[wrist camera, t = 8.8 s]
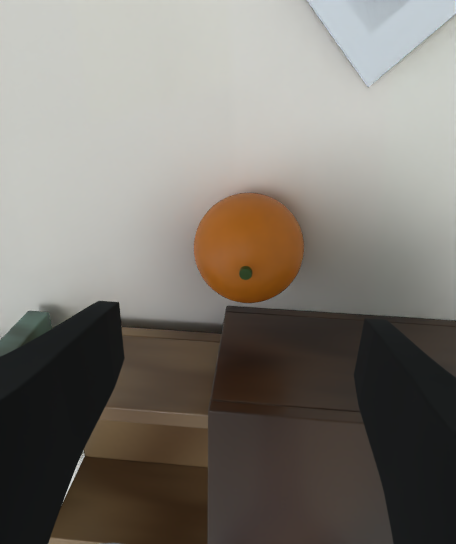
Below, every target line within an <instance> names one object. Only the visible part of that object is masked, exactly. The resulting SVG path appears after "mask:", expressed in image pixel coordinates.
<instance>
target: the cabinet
mask: <svg viewBox="0 0 456 544" xmlns="http://www.w3.org/2000/svg"><path fill="white" fill-rule="evenodd" d="M365 318H369V319H385V320H388V321H389V322H390V323H391V324H393V325H394V326H395V327H396V328H397V329H398V330H399V331H401V332H402V333H403V334H404V335H405V336H406V337H407V338H409V339H410V340H411V341H412V342H413V343H414V344H415V345H416V346H418V347H419V348H420V349H421V350H422V351H423V352H425V353H426V354H427V355H428V356H429V357H430V358H432V359H433V360H434V361H435V362H437V363H438V364H439V365H440V366H442V367H443V368H444V369H445V370H447V371H448V372H449V373H451V374H452V375H453V376H455V377H456V321H449V320H434V319H418V318H403V317H387V316H371V315H356V314H340V313H325V312H309V311H294V310H278V309H262V308H247V307H231V306H227V307H226V312H225V318H224V323H223V329H222V334H221V340H220V346H219V351H218V357H217V363H216V368H215V374H214V380H213V385H212V391H211V397H210V402H209V408H208V536H207V544H393V538H392V532H391V527H390V522H389V516H388V511H387V506H386V501H385V496H384V491H383V487H382V483H381V479H380V476H379V472H378V469H377V466H376V462H375V459H374V456H373V453H372V449H371V446H370V443H369V440H368V436H367V433H366V430H365V426H364V423H363V420H362V416H361V413H360V409H359V406H358V400H357V394H356V387H355V380H354V371H355V366H356V361H357V355H358V350H359V345H360V340H361V334H362V329H363V324H364V319H365Z"/></svg>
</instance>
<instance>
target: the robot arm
mask: <svg viewBox="0 0 456 544" xmlns="http://www.w3.org/2000/svg"><path fill="white" fill-rule="evenodd" d="M124 359H125V357H124V347H123V337H122V327H121V317H120V308H119V302H107V301H98V302H96V303H94V304H92V305H91V306H89V307H87V308H85V309H84V310H82V311H81V312H79V313H77V314H76V315H74V316H72V317H71V318H69V319H68V320H66V321H64V322H63V323H61V324H59V325H58V326H56V327H54V328H53V329H51V330H49V331H48V332H46V333H44V334H42V335H40V336H39V337H37V338H35V339H33V340H31V341H30V342H28V343H26V344H24V345H22V346H21V347H19V348H17V349H15V350H13V351H11V352H9V353H7V354H5V355H3V356H0V544H48V543H49V540H50V537H51V534H52V531H53V528H54V525H55V522H56V520H57V517H58V514H59V511H60V508H61V505H62V503H63V500H64V497H65V494H66V492H67V489H68V486H69V484H70V481H71V478H72V476H73V473H74V471H75V468H76V465H77V463H78V461H79V459H80V456H81V454H82V452H83V450H84V448H85V446H86V444H87V442H88V440H89V438H90V436H91V434H92V432H93V430H94V428H95V426H96V424H97V422H98V420H99V418H100V416H101V414H102V412H103V410H104V408H105V406H106V404H107V402H108V400H109V398H110V396H111V394H112V392H113V390H114V388H115V386H116V383H117V380H118V377H119V374H120V371H121V368H122V365H123V362H124ZM354 380H355V387H356V394H357V400H358V406H359V409H360V413H361V416H362V420H363V423H364V426H365V430H366V433H367V436H368V440H369V443H370V446H371V449H372V453H373V456H374V459H375V462H376V466H377V469H378V472H379V476H380V479H381V483H382V487H383V491H384V496H385V501H386V506H387V511H388V516H389V522H390V527H391V532H392V538H393V544H456V377H455V376H453V375H452V374H451V373H449V372H448V371H447V370H445V369H444V368H443V367H442V366H440V365H439V364H438V363H437V362H435V361H434V360H433V359H432V358H430V357H429V356H428V355H427V354H426V353H425V352H423V351H422V350H421V349H420V348H419V347H418V346H416V345H415V344H414V343H413V342H412V341H411V340H410V339H409V338H407V337H406V336H405V335H404V334H403V333H402V332H401V331H399V330H398V329H397V328H396V327H395V326H394V325H393V324H391V323H390V322H389V321H388V320H385V319H369V318H365V319H364V324H363V329H362V334H361V340H360V345H359V350H358V355H357V361H356V366H355V371H354ZM105 544H119V543H105Z"/></svg>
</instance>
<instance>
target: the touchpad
mask: <svg viewBox="0 0 456 544" xmlns="http://www.w3.org/2000/svg"><path fill="white" fill-rule="evenodd" d="M307 1H308V3H309V4H310V5H311V7H312V8H313V10H314V11H315V13H316V14H317V15H318V17H319V18H320V20H321V21H322V23H323V24H324V25H325V27H326V28H327V30H328V31H329V32H330V34H331V35H332V37H333V38H334V40H335V41H336V42H337V44H338V45H339V47H340V48H341V50H342V51H343V52H344V54H345V55H346V57H347V58H348V60H349V61H350V62H351V64H352V65H353V67H354V68H355V69H356V71H357V72H358V74H359V75H360V77H361V78H362V79H363V81H364V82H365V84H366V85H367V87H369V86H370V85H371V84H372V83H374V82H375V81H376V80H377V79H378V78H380V77H381V76H382V75H383V74H384V73H386V72H387V71H388V70H389V69H390V68H392V67H393V66H394V65H395V64H396V63H398V62H399V61H400V60H401V59H402V58H403V57H405V56H406V55H407V54H408V53H409V52H411V51H412V50H413V49H414V48H415V47H417V46H418V45H419V44H420V43H421V42H423V41H424V40H425V39H426V38H427V37H429V36H430V35H431V34H432V33H433V32H434V31H436V30H437V29H438V28H439V27H440V26H442V25H443V24H444V23H445V22H446V21H448V20H449V19H450V18H451V17H452V16H454V15H455V14H456V0H307Z"/></svg>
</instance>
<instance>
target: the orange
mask: <svg viewBox="0 0 456 544" xmlns="http://www.w3.org/2000/svg"><path fill="white" fill-rule="evenodd" d="M303 254H304V241H303V236H302V232H301V229H300V226H299V224H298V222H297V220H296V219H295V217H294V216H293V214H292V213H291V212H290V211H289V210H288V209H287V208H286V207H285V206H284V205H283V204H281V203H280V202H278V201H277V200H275V199H273V198H271V197H269V196H266V195H262V194H257V193H240V194H236V195H232V196H230V197H227V198H225V199H223V200H221V201H220V202H218V203H217V204H215V205H214V206H213V207H212V208H211V209H210V210H209V211H208V212H207V213H206V214H205V216H204V217H203V219H202V220H201V222H200V224H199V226H198V228H197V232H196V235H195V241H194V255H195V261H196V265H197V267H198V270H199V272H200V274H201V276H202V277H203V279H204V280H205V282H206V283H207V284H208V285H209V286H210V287H211V288H212V289H213V290H214V291H216V292H217V293H218V294H220V295H221V296H223V297H225V298H227V299H230V300H233V301H236V302H242V303H255V302H261V301H265V300H268V299H270V298H272V297H274V296H276V295H278V294H280V293H281V292H282V291H284V290H285V289H286V288H287V287H288V286H289V285H290V284H291V282H292V281H293V280H294V278H295V277H296V275H297V273H298V271H299V269H300V267H301V264H302V260H303Z"/></svg>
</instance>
